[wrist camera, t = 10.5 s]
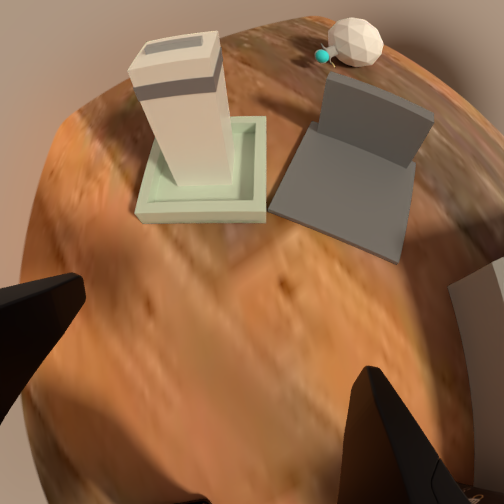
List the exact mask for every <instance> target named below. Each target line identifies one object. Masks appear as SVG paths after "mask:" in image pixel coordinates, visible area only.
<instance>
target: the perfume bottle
mask: <svg viewBox="0 0 504 504" xmlns="http://www.w3.org/2000/svg"><path fill="white" fill-rule="evenodd" d="M328 44H329V47H327V48H325V47H324V46H323V44H322V43H321V45H322V48H323V50H322V49H319V50H317V51H316V52H315V54H314V56H315V59H316V61H318V62H319V63H326V62H327V61H328V60H329V61H330V63H331V58H332V57H334V56H336V57H337V58H338V59H339V60H340V61H342V62H343V63H345V64H347V65H350V66H354V67H361V66H368V65H372V64H373V63H374V62H375V61H376V60H377V59H378V57H379V56H380V55H381V54H382V49H383V41H382V39H381V37H380V34H379V32H378V30H377V29H376V28H375V27H373V26H372V25H371V24H370V23H369V22H367V21H366V20H363V19H356V18H346V19H342V20H338V21H337V22H336V23H335V24H334V25H333V26H332V27H331V29H330V30H329V31H328ZM331 64H333V63H331ZM333 66H334V64H333ZM334 67H335V66H334Z"/></svg>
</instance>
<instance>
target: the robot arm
mask: <svg viewBox="0 0 504 504" xmlns="http://www.w3.org/2000/svg"><path fill="white" fill-rule="evenodd" d="M85 300H86V293H85V287H84V281H83V278H82V276H80V275H78V274H76V273H73V272H71V273H66V274H62V275H57V276H53V277H48V278H44V279H40V280H35V281H31V282H27V283H22V284H18V285H14V286H9V287H6V288H1V289H0V425H1V423H2V421H3V419H4V418H5V416H6V415H7V413H8V411H9V410H10V408H11V406H12V405H13V404H14V402H15V401H16V399H17V398H18V396H19V395H20V393H21V392H22V390H23V389H24V387H25V386H26V384H27V383H28V381H29V380H30V379H31V377H32V376H33V374H34V373H35V372H36V370H37V369H38V367H39V366H40V365H41V363H42V362H43V361H44V359H45V358H46V357H47V355H48V354H49V353H50V351H51V350H52V349H53V348H54V346H55V345H56V344H57V342H58V341H59V340H60V338H61V337H62V336H63V334H64V333H65V331H66V330H67V328H68V327H69V325H70V324H71V322H72V321H73V319H74V318H75V316H76V315H77V313H78V312H79V310H80V309H81V307H82V306H83V304H84V303H85ZM202 503H206V504H212V503H211V502H210V501H209V500H207V499H200V500H194V501H189V502H183V503H176V504H202ZM337 504H472V503H471V502H470V500H469V499H468V498H467V497H466V495H465V494H464V493H463V491H462V490H461V489H460V487H459V486H458V484H457V483H456V482H455V480H454V479H453V477H452V476H451V474H450V473H449V471H448V470H447V468H446V467H445V465H444V463H443V462H442V460H441V459H439V456H438V454H437V452H436V451H435V449H434V448H433V446H432V445H431V443H430V442H429V440H428V439H427V437H426V435H425V434H424V432H423V431H422V429H421V428H420V426H419V425H418V423H417V422H416V420H415V419H414V417H413V416H412V414H411V413H410V411H409V410H408V408H407V407H406V405H405V404H404V403H403V401H402V400H401V398H400V397H399V395H398V394H397V392H396V391H395V389H394V388H393V386H392V385H391V384H390V382H389V381H388V379H387V378H386V376H385V375H384V374H383V372H382V371H381V369H380V368H378V367H373V366H365V367H364V368H363V370H362V371H361V373H360V374H359V376H358V378H357V379H356V381H355V382H354V384H353V386H352V389H351V396H350V402H349V409H348V415H347V421H346V427H345V433H344V441H343V454H342V466H341V476H340V485H339V494H338V501H337Z"/></svg>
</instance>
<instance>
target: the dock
mask: <svg viewBox="0 0 504 504" xmlns="http://www.w3.org/2000/svg"><path fill="white" fill-rule="evenodd" d="M433 124H434V113H432V112H430V111H428V110H426V109H424V108H422V107H420V106H418V105H416V104H414V103H412V102H410V101H408V100H405V99H403V98H401V97H399V96H396V95H394V94H392V93H389V92H387V91H385V90H382V89H380V88H377V87H375V86H372V85H369V84H367V83H364V82H361V81H358V80H356V79H353V78H350V77H347V76H344V75H341V74H337V73H334V72H331V71H330V73H329V75H328V77H327V79H326V85H325V91H324V96H323V102H322V107H321V113H320V118H319V123H317V122H314V121H312V122H311V124H310V126H309V128H308V130H307V132H306V134H305V136H304V138H303V140H302V142H301V144H300V146H299V148H298V150H297V152H296V154H295V156H294V158H293V160H292V162H291V164H290V166H289V168H288V170H287V172H286V174H285V176H284V178H283V180H282V182H281V184H280V186H279V188H278V190H277V192H276V194H275V196H274V198H273V200H272V202H271V204H270V206H269V208H268V212H270V213H273V214H275V215H278V216H280V217H283V218H286V219H288V220H291V221H293V222H296V223H298V224H301V225H303V226H306V227H308V228H311V229H313V230H316V231H318V232H321V233H323V234H326V235H328V236H330V237H333V238H335V239H338V240H340V241H342V242H345V243H347V244H350V245H352V246H354V247H357V248H359V249H361V250H364V251H366V252H368V253H371V254H373V255H375V256H378V257H380V258H382V259H384V260H387V261H389V262H391V263H393V264H396V265H397V264H398V263H399V260H400V256H401V251H402V247H403V242H404V237H405V232H406V227H407V222H408V216H409V210H410V204H411V198H412V191H413V183H414V175H415V166H416V163H415V162H413V161H412V159H413V158H414V156H415V154H416V153H417V151H418V149H419V148H420V146H421V144H422V143H423V141H424V139H425V138H426V136H427V134H428V133H429V131H430V129H431V127H432V126H433Z"/></svg>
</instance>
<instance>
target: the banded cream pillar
mask: <svg viewBox="0 0 504 504" xmlns="http://www.w3.org/2000/svg"><path fill="white" fill-rule="evenodd" d="M222 62H223V57H222V49H221V47H220V41H219V34H218V31H212V32H202V33H193V34H186V35H180V36H173V37H168V38H162V39H157V40H152V41H148V42H146V43H145V45H144V46H143V48H142V49H141V51H140V52H139V54H138V55H137V56H136V58H135V60H134V61H133V62H132V64H131V66H130V67H129V69H128V74H129V76H130V79H131V81H132V84H133V86H134V87H133V89H134V91H135V94H136V96H137V98H138V101H140V103H141V105H142V107H143V110H144V112H145V114H146V117H147V119H148V121H149V124H150V126H151V128H152V131H153V133H154V135H155V137H156V140H157V142H158V144H159V146H160V149H161V151H162V153H163V155H164V157H165V160H166V162H167V164H168V166H169V168H170V171H171V173H172V175H173V177H174V179H175V181H176V184H177V186H203V185H232V179H233V167H234V155H235V149H234V142H233V135H232V128H231V120H230V113H229V106H228V99H227V92H226V85H225V77H224V70H223V63H222Z"/></svg>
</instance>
